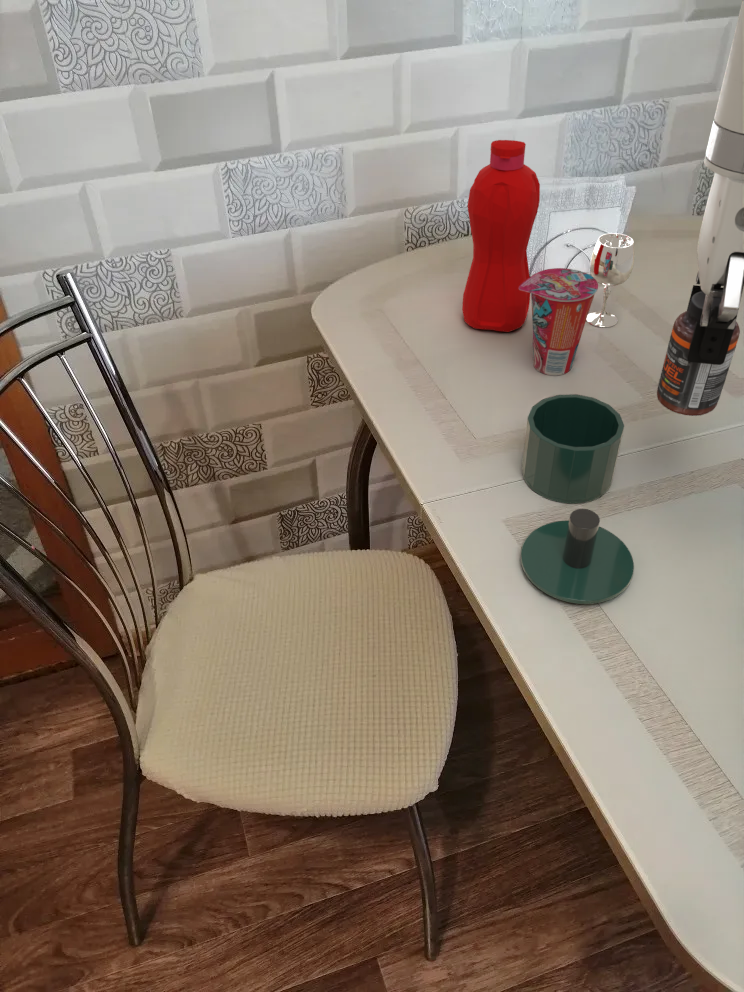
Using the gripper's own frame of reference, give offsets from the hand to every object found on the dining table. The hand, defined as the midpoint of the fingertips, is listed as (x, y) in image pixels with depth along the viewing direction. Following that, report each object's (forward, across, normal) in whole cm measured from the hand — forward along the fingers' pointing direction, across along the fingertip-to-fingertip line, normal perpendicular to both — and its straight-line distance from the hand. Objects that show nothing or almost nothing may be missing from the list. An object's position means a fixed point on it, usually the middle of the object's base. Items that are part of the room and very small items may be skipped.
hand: (703, 341), depth 76 cm
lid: (+18, -14, +9) cm, 24 cm away
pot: (+19, 0, +10) cm, 21 cm away
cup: (+19, +22, +14) cm, 32 cm away
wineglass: (+19, +36, +8) cm, 42 cm away
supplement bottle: (+7, 0, 0) cm, 7 cm away
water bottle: (+19, +34, +23) cm, 46 cm away
